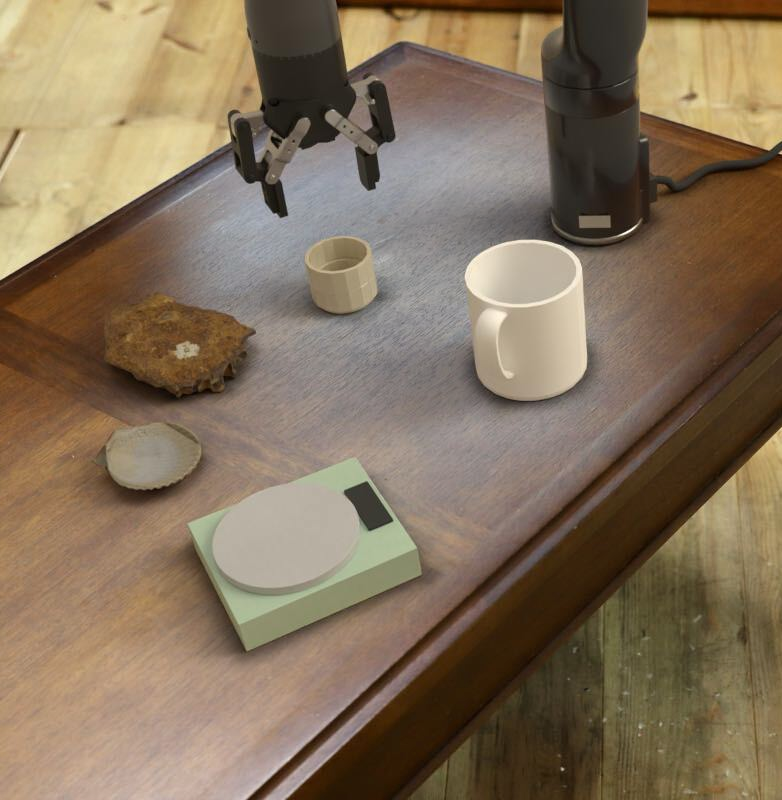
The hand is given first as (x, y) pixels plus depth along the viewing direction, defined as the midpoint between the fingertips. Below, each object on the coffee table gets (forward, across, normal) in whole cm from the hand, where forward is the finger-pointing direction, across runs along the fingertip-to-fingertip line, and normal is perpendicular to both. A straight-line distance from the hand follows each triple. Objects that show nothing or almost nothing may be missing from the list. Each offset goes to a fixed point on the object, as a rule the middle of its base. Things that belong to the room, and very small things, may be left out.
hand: (325, 199), depth 126 cm
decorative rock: (+12, -17, 0) cm, 20 cm away
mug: (+11, +9, -20) cm, 25 cm away
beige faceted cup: (+11, 0, 0) cm, 11 cm away
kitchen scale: (+11, -16, -31) cm, 36 cm away
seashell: (+12, -23, -14) cm, 29 cm away
